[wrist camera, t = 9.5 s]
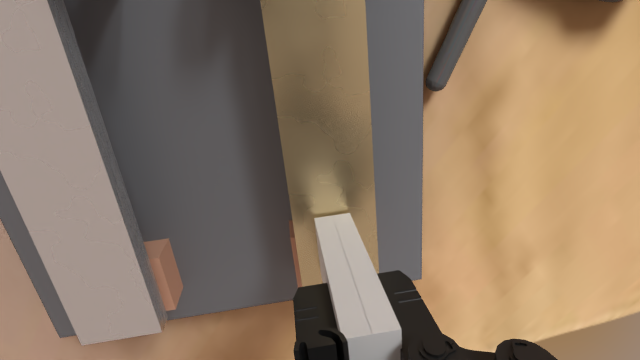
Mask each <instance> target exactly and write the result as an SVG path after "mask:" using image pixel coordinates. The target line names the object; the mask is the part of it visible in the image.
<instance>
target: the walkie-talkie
mask: <svg viewBox="0 0 640 360" xmlns="http://www.w3.org/2000/svg"><path fill="white" fill-rule="evenodd" d="M599 1H604V2H619V1H622V0H599ZM486 2H487V0H462V1H461V3H460V6H459V8H458V10H457V12H456V14H455V16H454V19H453V21H452V23H451V25H450V27H449V31H448V33H447V35H446V37H445V39H444V42H443V44H442V46H441V48H440V50H439V52H438V55H437V57H436V59H435V61H434V63H433V66H432V68H431V70H430V72H429V74H428V76H427V79H426V86H427V88H428V89H430V90H432V91H439V90H442V89H443V88H444V87H445V86H446V84H447V82H448V80H449V78H450V75H451V73H452V71H453V69H454V67H455V65H456V63H457V61H458V59H459V57H460V55H461V53H462V51H463V49H464V47H465V45H466V43H467V41H468V38H469V36H470V34H471V32H472V30H473V28H474V26H475V24H476V22H477V20H478V18H479V16H480V14H481V12H482V10H483V8H484V6H485V4H486Z"/></svg>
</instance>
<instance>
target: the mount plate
mask: <svg viewBox="0 0 640 360" xmlns="http://www.w3.org/2000/svg"><path fill="white" fill-rule="evenodd" d="M63 1H64V4H65V7H66V10H67V13H68V16H69V19H70V22H71V25H72V28H73V31H74V34H75V37H76V40H77V43H78V46H79V49H80V52H81V55H82V58H83V61H84V64H85V67H86V70H87V73H88V76H89V79H90V82H91V85H92V88H93V91H94V94H95V97H96V100H97V104H98V107H99V110H100V113H101V116H102V119H103V122H104V125H105V128H106V131H107V134H108V137H109V140H110V143H111V146H112V149H113V152H114V155H115V158H116V161H117V164H118V167H119V170H120V173H121V176H122V179H123V182H124V185H125V188H126V191H127V194H128V197H129V200H130V203H131V206H132V209H133V212H134V215H135V218H136V221H137V224H138V227H139V230H140V233H141V236H142V239H143V242H144V245H145V248H146V251H147V254H148V257H149V260H150V263H151V266H152V269H153V272H154V275H155V278H156V281H157V285H158V288H159V291H160V294H161V297H162V300H163V303H164V306H165V309H166V312H167V315H168V318H167V320H172V319H179V318H185V317H191V316H197V315H203V314H209V313H216V312H222V311H228V310H234V309H240V308H246V307H252V306H259V305H265V304H271V303H277V302H283V301H289V300H293V298H294V296H295V293H296V291H297V289H298V287H302V281H301V275H300V268H299V261H298V254H297V247H296V241H295V234H294V227H293V220H292V213H291V207H290V200H289V193H288V186H287V179H286V173H285V166H284V159H283V152H282V145H281V139H280V132H279V125H278V118H277V111H276V105H275V98H274V91H273V84H272V77H271V70H270V64H269V57H268V50H267V43H266V36H265V30H264V23H263V16H262V9H261V2H260V0H63ZM365 6H366V26H367V45H368V65H369V84H370V104H371V124H372V143H373V163H374V182H375V202H376V221H377V241H378V261H379V273H384V272H390V271H396V270H400V271H401V272H402V273H404V274H405V275H406V276H408V277H409V278H410V279H411V281H412V280H418V279H422V164H423V49H424V0H365ZM0 219H1V221H2V223H3V225H4V227H5V229H6V231H7V233H8V235H9V237H10V239H11V241H12V243H13V245H14V247H15V249H16V251H17V253H18V255H19V257H20V259H21V261H22V263H23V265H24V267H25V269H26V271H27V273H28V275H29V277H30V279H31V281H32V283H33V285H34V287H35V289H36V291H37V293H38V295H39V297H40V299H41V301H42V303H43V305H44V307H45V309H46V311H47V313H48V315H49V317H50V319H51V321H52V323H53V325H54V327H55V329H56V331H57V333H58V335H59V337H60V338H62V337H68V336H74V335H76V332H75V330H74V328H73V326H72V324H71V322H70V320H69V317H68V315H67V313H66V311H65V309H64V307H63V304H62V302H61V300H60V298H59V296H58V294H57V292H56V289H55V287H54V285H53V283H52V281H51V279H50V277H49V274H48V272H47V270H46V268H45V266H44V264H43V261H42V259H41V257H40V255H39V253H38V251H37V249H36V246H35V244H34V242H33V240H32V238H31V236H30V233H29V231H28V229H27V227H26V225H25V223H24V221H23V218H22V216H21V214H20V212H19V210H18V208H17V205H16V203H15V201H14V199H13V197H12V195H11V193H10V190H9V188H8V186H7V184H6V182H5V180H4V177H3V175H2V173H1V171H0Z"/></svg>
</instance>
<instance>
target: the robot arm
mask: <svg viewBox="0 0 640 360" xmlns="http://www.w3.org/2000/svg"><path fill="white" fill-rule="evenodd" d="M314 221H315V229H316V237H317V245H318V254H319V262H320V270H321V276H322V281H323V283H322V284H316V285H310V286H304V287H298V289H297V291H296V293H295V296H294V298H293V303H294V315H295V328H296V340H297V341H296V342H295V346H294V356H295V360H557V359H556V358H555V357H554V356H552V355H551V354H550V353H549V352H548V351H546V350H545V349H543V348H541V347H540V346H538V345H537V344H535V343H532V342H529V341H526V340H521V339H510V340H505V341H503V342H502V343H500V344H499V345H498V346H497V349H496V352H495V353H492V352H482V351H473V350H468V349H464V348H462V347H459V346H458V345H457V344H456V342H455V341H454V340H453V339H451V338H449V337H448V336H446V335H444V334H442V332H441V331H440V329H439V328H438V326H437V324H436V322H435V321H434V319H433V317H432V315H431V314H430V312H429V310H428V308H427V307H426V305H425V303H424V301H423V300H422V299H421V296H420V295H419V293H418V291H417V290H416V288H415V286H414V284H413V282H412V281H411V279H410V278H409V277H408V276H406V275H405V274H404V273H402V272H401V271H400V270H396V271H390V272H384V273H378V274H377V273H376V271H375V269H374V266H373V264H372V262H371V260H370V257H369V255H368V253H367V251H366V248H365V246H364V244H363V242H362V239H361V237H360V235H359V233H358V230H357V228H356V226H355V224H354V221H353V219H352V217H351V215H350V213H345V214H339V215H332V216H325V217H318V218H314Z"/></svg>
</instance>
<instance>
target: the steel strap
mask: <svg viewBox="0 0 640 360" xmlns="http://www.w3.org/2000/svg"><path fill="white" fill-rule="evenodd" d="M0 171H1V173H2V175H3V177H4V180H5V182H6V184H7V186H8V188H9V190H10V193H11V195H12V197H13V199H14V201H15V203H16V205H17V208H18V210H19V212H20V214H21V216H22V218H23V221H24V223H25V225H26V227H27V229H28V231H29V233H30V236H31V238H32V240H33V242H34V244H35V246H36V249H37V251H38V253H39V255H40V257H41V259H42V261H43V264H44V266H45V268H46V270H47V272H48V274H49V277H50V279H51V281H52V283H53V285H54V287H55V289H56V292H57V294H58V296H59V298H60V300H61V302H62V304H63V307H64V309H65V311H66V313H67V315H68V317H69V320H70V322H71V324H72V326H73V328H74V330H75V332H76V335H77V337H78V339H79V341H80V343H81V345H88V344H94V343H100V342H106V341H113V340H119V339H125V338H131V337H137V336H143V335H149V334H155V333H161V332H163V329H164V326H165V323H166V321H167V318H168V315H167V312H166V309H165V306H164V303H163V300H162V297H161V294H160V291H159V288H158V285H157V281H156V278H155V275H154V272H153V269H152V266H151V263H150V260H149V257H148V254H147V251H146V248H145V245H144V242H143V239H142V236H141V233H140V230H139V227H138V224H137V221H136V218H135V215H134V212H133V209H132V206H131V203H130V200H129V197H128V194H127V191H126V188H125V185H124V182H123V179H122V176H121V173H120V170H119V167H118V164H117V161H116V158H115V155H114V152H113V149H112V146H111V143H110V140H109V137H108V134H107V131H106V128H105V125H104V122H103V119H102V116H101V113H100V110H99V107H98V104H97V100H96V97H95V94H94V91H93V88H92V85H91V82H90V79H89V76H88V73H87V70H86V67H85V64H84V61H83V58H82V55H81V52H80V49H79V46H78V43H77V40H76V37H75V34H74V31H73V28H72V25H71V22H70V19H69V16H68V13H67V10H66V7H65V4H64V1H63V0H0Z"/></svg>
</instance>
